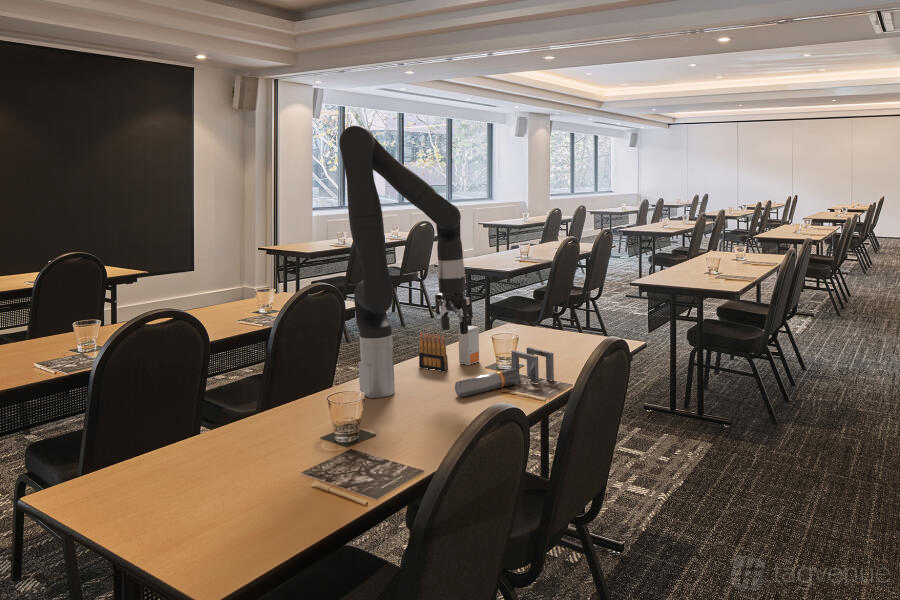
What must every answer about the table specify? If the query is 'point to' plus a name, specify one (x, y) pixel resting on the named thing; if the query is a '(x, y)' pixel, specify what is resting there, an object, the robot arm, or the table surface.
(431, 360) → the ammunition clip
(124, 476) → the table surface
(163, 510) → the table surface
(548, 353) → the dark grey rectangular frame
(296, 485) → the table surface
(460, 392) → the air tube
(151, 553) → the table surface
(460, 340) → the skincare box
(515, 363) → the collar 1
